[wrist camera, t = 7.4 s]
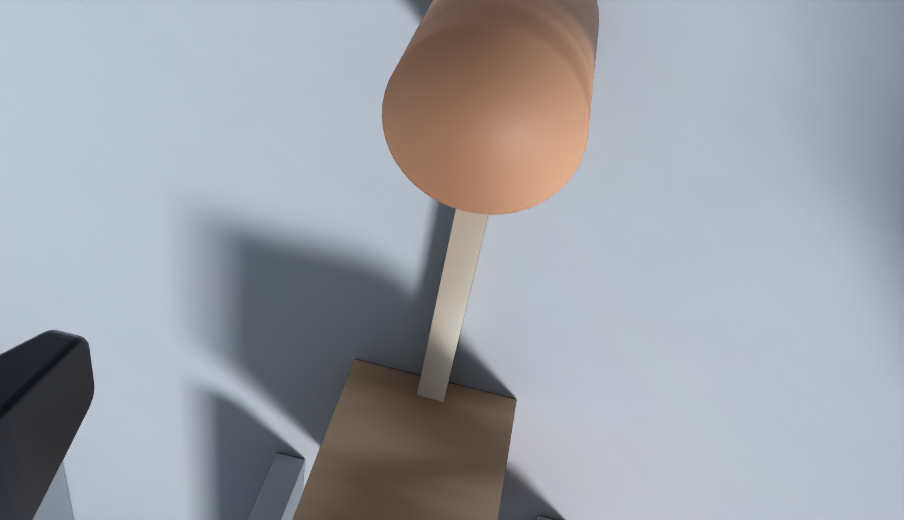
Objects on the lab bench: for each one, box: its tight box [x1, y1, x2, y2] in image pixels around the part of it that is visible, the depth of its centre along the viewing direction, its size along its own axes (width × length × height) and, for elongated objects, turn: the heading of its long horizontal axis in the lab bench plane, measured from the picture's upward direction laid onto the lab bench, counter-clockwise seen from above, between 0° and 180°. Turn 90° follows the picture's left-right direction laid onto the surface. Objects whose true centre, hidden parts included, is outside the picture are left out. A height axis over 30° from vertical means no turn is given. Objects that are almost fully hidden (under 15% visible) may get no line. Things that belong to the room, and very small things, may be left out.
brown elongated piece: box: [292, 0, 599, 520], centre depth 21 cm, size 5×18×6 cm, turn 170°
